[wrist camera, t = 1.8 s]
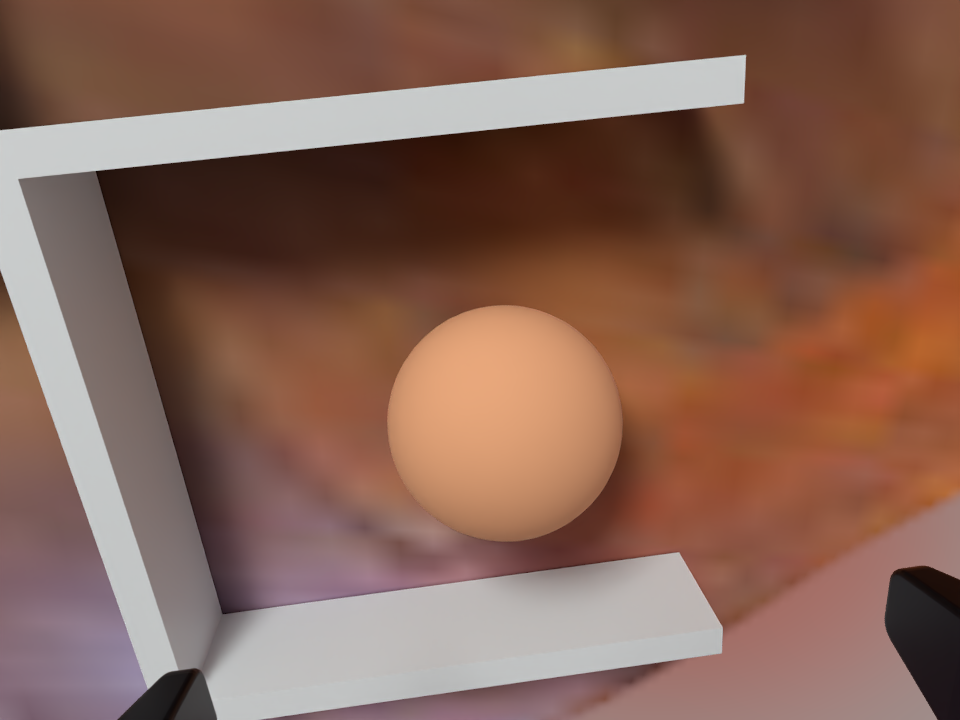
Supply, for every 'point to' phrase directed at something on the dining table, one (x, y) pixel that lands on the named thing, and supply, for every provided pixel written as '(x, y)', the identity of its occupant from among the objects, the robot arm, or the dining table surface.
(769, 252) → the dining table surface
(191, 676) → the robot arm
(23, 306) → the white c-shaped bracket
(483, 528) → the ball
